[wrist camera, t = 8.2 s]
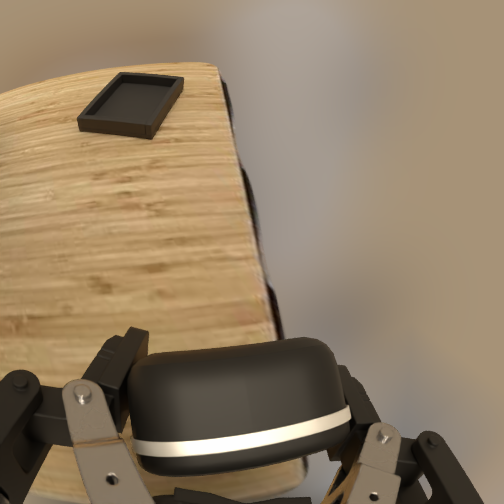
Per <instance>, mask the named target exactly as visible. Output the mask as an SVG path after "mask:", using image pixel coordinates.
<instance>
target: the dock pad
mask: <svg viewBox="0 0 504 504" xmlns="http://www.w3.org/2000/svg"><path fill="white" fill-rule="evenodd" d="M183 85H184V77H177V76H168V75H158V74H146V73H129V72H120V73H119V74H118V75H116V76H115V77H114V78H113V79H112V80H111V81H110V82H109V83H108V84H107V85H106V86H105V87H104V89H103V90H102V91H101V92H100V93H99V94H98V95H97V96H96V97H95V98H94V99H93V100H92V101H91V102H90V104H89V105H88V106H87V107H86V108H85V109H84V110H83V111H82V113H81V114H80V115H79V116H78V117H77V122H78V126H79V130H80V131H86V132H97V133H107V134H116V135H124V136H132V137H139V138H147V139H152V138H153V136H154V135H155V133H156V131H157V130H158V128H159V126H160V125H161V123H162V121H163V120H164V118H165V117H166V115H167V113H168V112H169V110H170V109H171V107H172V105H173V104H174V102H175V101H176V99H177V98H178V96H179V95H180V93H181V92H182V90H183Z"/></svg>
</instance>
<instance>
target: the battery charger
mask: <svg viewBox="0 0 504 504" xmlns="http://www.w3.org/2000/svg"><path fill="white" fill-rule="evenodd" d="M127 396H128V404H129V412H130V420H131V426H132V433H133V435H132V436H131V438H130V439H131V445H132V450H133V451H134V452H135V453H136V456H137V460H138V463H139V465H140V466H141V467H142V468H143V469H144V470H145V471H147V472H149V473H151V474H155V475H159V476H169V477H189V476H203V475H213V474H221V473H229V472H236V471H242V470H248V469H254V468H259V467H264V466H269V465H273V464H277V463H281V462H286V461H289V460H293V459H297V458H301V457H304V456H308V455H311V454H314V453H318V452H320V451H323V450H326V449H329V448H332V447H334V446H336V445H338V444H340V443H342V442H343V441H344V440H345V439H346V438H347V437H348V436H349V433H350V424H349V420H350V419H351V413H350V408H349V405H346V403H345V398H344V393H343V389H342V384H341V379H340V374H339V370H338V365H337V363H336V360H335V357H334V354H333V352H332V351H331V350H330V348H329V347H328V346H327V345H326V344H325V343H323V342H321V341H319V340H318V339H313V338H307V337H300V338H293V339H285V340H278V341H271V342H264V343H256V344H248V345H239V346H230V347H221V348H211V349H200V350H188V351H175V352H162V353H154V354H150V355H148V356H146V357H144V358H142V359H140V360H138V361H137V363H136V364H135V365H134V366H133V367H132V368H131V371H130V373H129V376H128V379H127Z"/></svg>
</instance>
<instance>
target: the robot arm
mask: <svg viewBox="0 0 504 504" xmlns="http://www.w3.org/2000/svg"><path fill="white" fill-rule="evenodd" d="M148 341H149V332H148V331H146V330H142V329H138V328H134V327H130V328H129V329H128V331H127V333H126V334H125V336H124V337H121V336H117V335H115V336H113V337H112V338H110V339H108V340H106V342H105V343H104V345H103V346H102V348H101V350H100V351H99V352H98V354H97V356H96V357H95V358H94V360H93V361H92V363H91V364H90V366H89V367H88V369H87V370H86V372H85V373H84V375H83V376H82V378H81V379H77V380H73V381H70V382H68V383H67V384H66V385H65V386H64V387H63V388H56V387H49V386H43V385H40V382H39V380H38V378H37V377H36V375H34V374H33V373H31V372H29V371H26V370H15V371H12V372H10V373H8V374H7V375H6V376H5V377H4V378H3V379H2V380H1V382H0V504H23V502H24V500H25V497H26V495H27V493H28V491H29V489H30V487H31V485H32V483H33V481H34V479H35V477H36V475H37V473H38V471H39V469H40V468H41V466H42V464H43V462H44V460H45V458H46V456H47V454H48V452H49V451H50V449H51V447H52V445H53V444H54V445H61V446H69V447H73V450H74V454H75V458H76V461H77V464H78V468H79V471H80V474H81V477H82V480H83V483H84V486H85V489H86V492H87V494H88V497H89V500H90V502H91V504H312V502H311V498H310V497H296V498H275V499H270V500H265V501H259V502H253V503H241V502H238V501H234V500H231V499H227V498H224V497H221V496H218V495H215V494H212V493H207V492H200V491H194V490H188V489H182V488H177V487H175V490H174V495H159V496H154V497H151V495H150V493H149V491H148V489H147V487H146V485H145V484H144V482H143V480H142V478H141V476H140V474H139V472H138V470H137V467H136V465H135V463H134V461H133V459H132V457H131V455H130V452H129V450H128V448H127V446H126V443H125V441H124V440H123V439H122V438H120V437H119V435H118V433H122V432H123V429H124V426H125V424H126V421H127V418H128V416H129V413H130V412H129V404H128V396H127V379H128V376H129V373H130V371H131V368H132V367H133V366H134V365H135V364H136V363H137V361H138V360H140V359H142V358H144V357H146V356H147V355H148ZM338 370H339V374H340V379H341V384H342V389H343V393H344V398H345V403H346V405H349V408H350V413H351V419H350V420H349V424H350V433H349V436H348V437H347V438H346V439H345V440H344V441H343V442H342V443H340V444H338V445H336V446H334V447H332V448H329V449H326V450H327V453H328V457H329V460H330V461H341V463H342V465H341V466H340V467H339V469H338V471H337V473H336V475H335V477H334V479H333V481H332V483H331V485H330V487H329V489H328V491H327V493H326V495H325V497H324V499H323V501H322V502H321V504H484V503H483V501H482V499H481V498H480V496H479V494H478V493H477V491H476V489H475V488H474V486H473V484H472V483H471V481H470V479H469V478H468V476H467V475H466V473H465V471H464V470H463V468H462V467H461V465H460V464H459V462H458V461H457V459H456V457H455V456H454V454H453V453H452V451H451V450H450V448H449V447H448V445H447V444H446V443H445V440H444V439H443V438H442V437H441V436H440V435H439V434H437V433H435V432H432V431H424V432H422V433H420V435H419V436H418V438H417V439H410V438H403V437H401V435H400V433H399V432H398V430H397V429H395V428H394V427H393V426H391V425H389V424H386V423H382V422H381V420H380V418H379V416H378V414H377V412H376V410H375V409H374V407H373V405H372V403H371V401H369V400H370V399H369V397H368V395H366V391H365V389H364V388H363V386H362V384H361V383H360V382H358V380H356V379H355V378H354V377H351V375H350V373H349V371H348V369H347V367H346V366H344V365H338ZM423 474H424V475H425V476H426V478H427V480H428V482H429V484H430V486H431V488H432V496H431V498H430V499H429V500H428V499H427V497H426V494H425V492H424V490H423V489H422V486H421V485H420V483H419V481H418V479H419V478H420V477H421V476H422V475H423Z"/></svg>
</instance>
